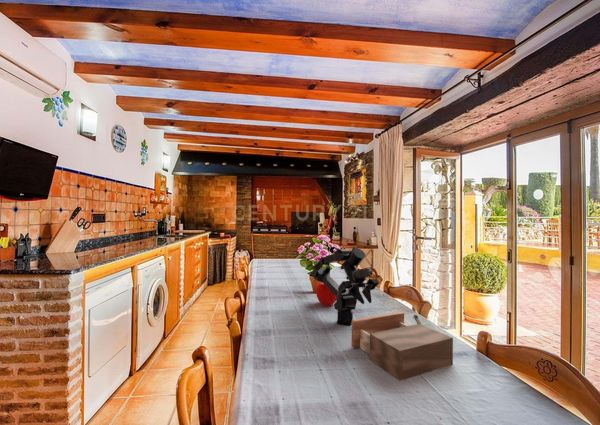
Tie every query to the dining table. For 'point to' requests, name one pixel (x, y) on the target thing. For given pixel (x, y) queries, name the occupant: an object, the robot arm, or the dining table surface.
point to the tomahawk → (417, 319)
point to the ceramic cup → (325, 295)
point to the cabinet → (411, 350)
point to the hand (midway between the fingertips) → (367, 303)
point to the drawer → (374, 328)
